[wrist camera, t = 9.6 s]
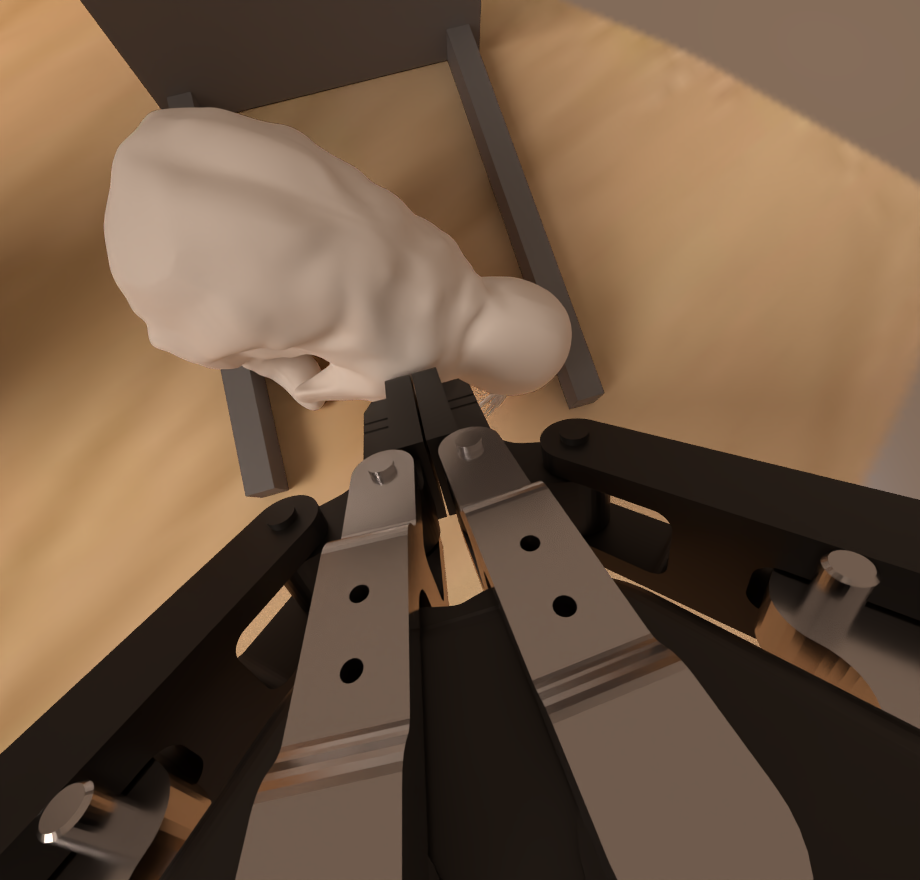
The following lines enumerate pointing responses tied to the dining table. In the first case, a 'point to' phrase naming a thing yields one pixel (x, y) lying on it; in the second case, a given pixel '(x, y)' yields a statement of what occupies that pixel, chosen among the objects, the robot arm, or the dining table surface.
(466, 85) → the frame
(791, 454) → the dining table surface
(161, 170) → the cream figurine
